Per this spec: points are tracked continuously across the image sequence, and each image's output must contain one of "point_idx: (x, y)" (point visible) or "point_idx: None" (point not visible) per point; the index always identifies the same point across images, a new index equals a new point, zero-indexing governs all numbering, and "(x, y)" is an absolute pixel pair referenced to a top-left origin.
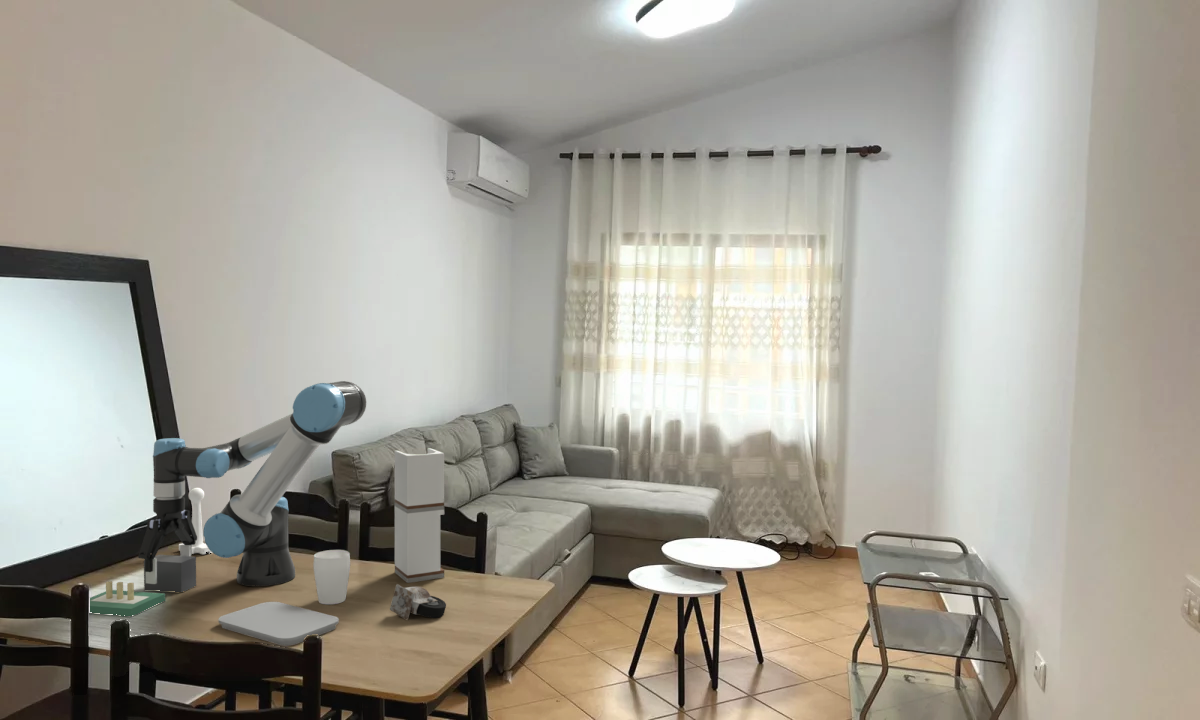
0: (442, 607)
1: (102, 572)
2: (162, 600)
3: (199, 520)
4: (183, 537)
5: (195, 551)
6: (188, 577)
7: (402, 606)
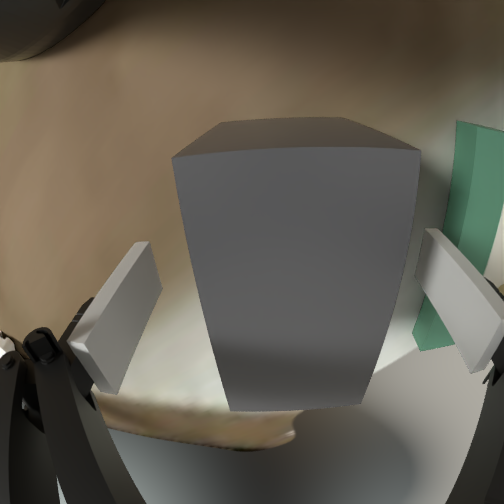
0: None
1: (210, 437)
2: (474, 124)
3: None
4: (98, 438)
5: None
6: (292, 124)
7: None
